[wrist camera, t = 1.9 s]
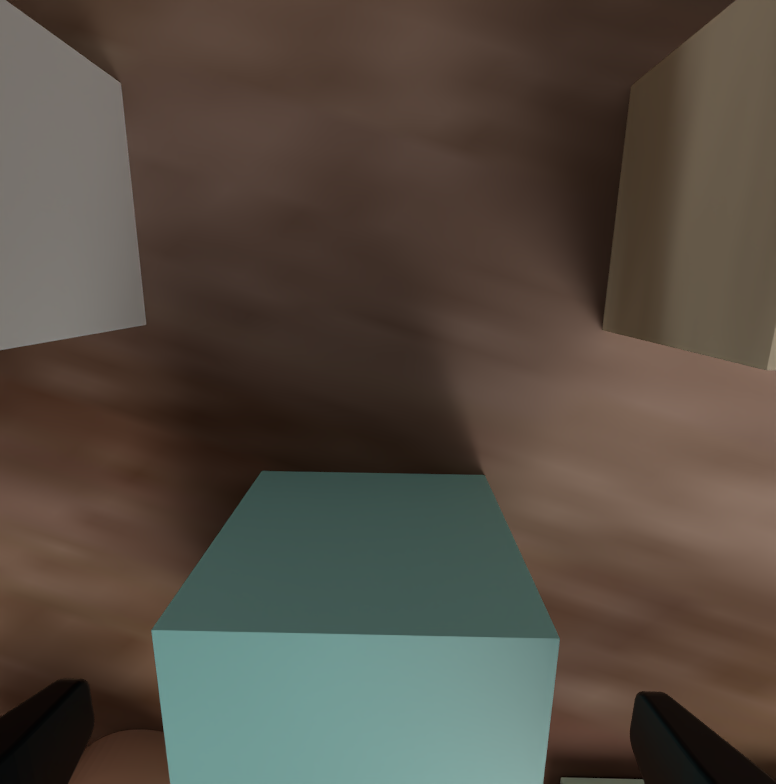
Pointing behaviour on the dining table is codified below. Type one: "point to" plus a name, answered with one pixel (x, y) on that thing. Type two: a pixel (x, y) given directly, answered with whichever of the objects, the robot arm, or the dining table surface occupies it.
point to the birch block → (702, 196)
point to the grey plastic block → (62, 193)
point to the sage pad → (599, 781)
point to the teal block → (358, 639)
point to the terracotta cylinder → (124, 759)
